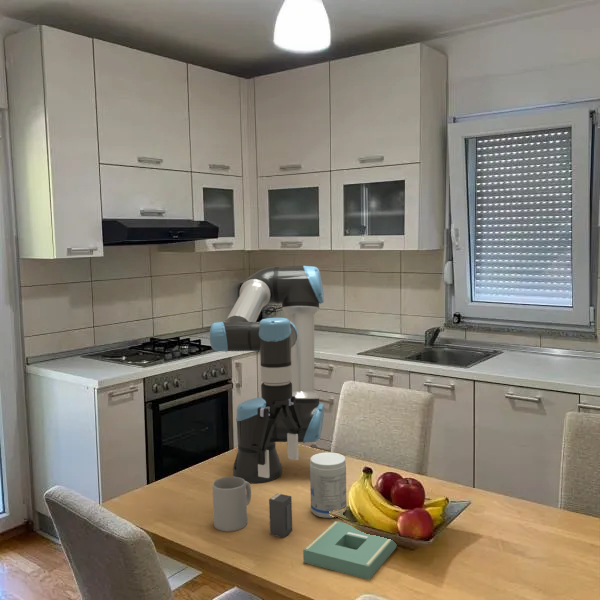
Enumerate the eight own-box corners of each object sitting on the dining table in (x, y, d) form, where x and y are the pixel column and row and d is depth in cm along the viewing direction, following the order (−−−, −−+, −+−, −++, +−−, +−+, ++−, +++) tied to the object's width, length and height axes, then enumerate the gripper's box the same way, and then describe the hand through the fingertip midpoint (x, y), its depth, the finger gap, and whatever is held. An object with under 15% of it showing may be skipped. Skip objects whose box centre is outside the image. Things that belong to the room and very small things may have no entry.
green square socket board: (335, 532, 156) (335, 520, 156) (396, 546, 148) (396, 534, 148) (303, 562, 142) (303, 549, 142) (369, 579, 134) (368, 566, 134)
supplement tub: (308, 505, 172) (306, 453, 170) (342, 502, 174) (340, 450, 172) (314, 521, 162) (313, 465, 161) (350, 517, 164) (349, 462, 163)
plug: (278, 527, 159) (277, 492, 158) (293, 531, 157) (292, 495, 156) (270, 534, 156) (269, 498, 155) (285, 538, 154) (284, 501, 153)
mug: (231, 534, 156) (229, 492, 155) (206, 526, 161) (205, 484, 160) (262, 516, 166) (261, 476, 165) (238, 509, 171) (237, 469, 170)
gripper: (289, 371, 165) (291, 450, 167) (233, 392, 144) (236, 482, 146) (314, 373, 162) (316, 454, 164) (261, 395, 140) (264, 487, 142)
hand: (279, 467), depth 155 cm, fingers open, 13 cm apart
